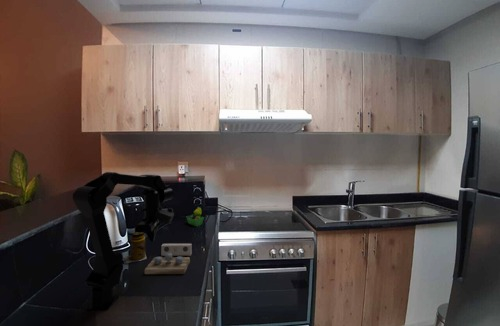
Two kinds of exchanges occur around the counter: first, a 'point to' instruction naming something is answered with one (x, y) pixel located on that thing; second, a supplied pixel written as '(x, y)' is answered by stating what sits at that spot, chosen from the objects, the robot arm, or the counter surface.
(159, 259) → the button left
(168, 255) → the button mid
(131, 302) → the counter surface
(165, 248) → the white flat bar
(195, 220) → the fruit basket
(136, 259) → the condiment
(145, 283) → the counter surface
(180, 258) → the button right
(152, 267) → the board
